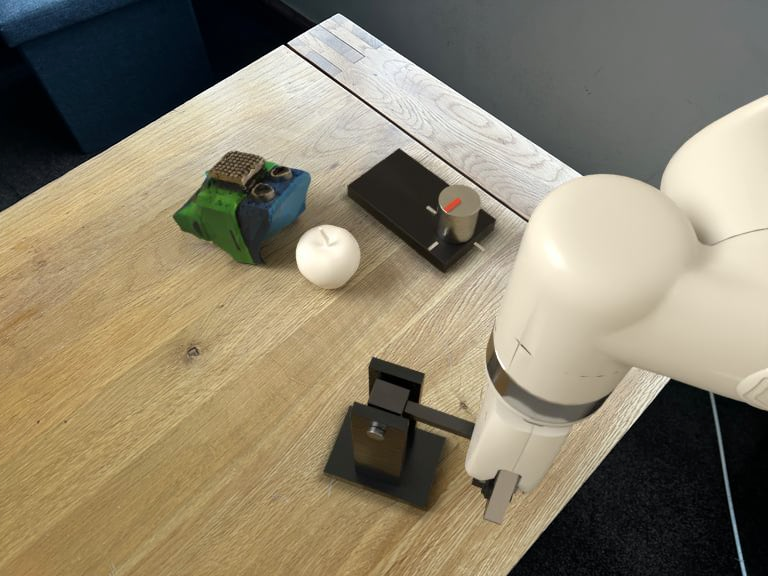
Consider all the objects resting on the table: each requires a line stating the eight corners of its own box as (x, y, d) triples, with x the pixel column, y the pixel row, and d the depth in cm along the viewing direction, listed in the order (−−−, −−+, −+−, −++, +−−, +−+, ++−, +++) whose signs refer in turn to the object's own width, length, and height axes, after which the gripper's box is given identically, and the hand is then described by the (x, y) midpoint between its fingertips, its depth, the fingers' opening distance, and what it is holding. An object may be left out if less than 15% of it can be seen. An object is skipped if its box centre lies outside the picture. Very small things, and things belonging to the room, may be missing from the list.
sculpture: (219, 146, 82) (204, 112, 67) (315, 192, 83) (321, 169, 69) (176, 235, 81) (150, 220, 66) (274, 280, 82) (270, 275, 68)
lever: (521, 426, 53) (529, 416, 51) (508, 480, 51) (515, 471, 48) (379, 377, 54) (381, 365, 52) (360, 426, 52) (361, 415, 50)
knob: (454, 206, 78) (458, 176, 74) (483, 228, 76) (489, 199, 72) (426, 227, 76) (430, 197, 72) (456, 251, 75) (461, 222, 70)
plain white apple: (327, 239, 78) (322, 194, 71) (373, 271, 75) (373, 228, 69) (285, 277, 75) (276, 234, 68) (332, 312, 72) (328, 271, 66)
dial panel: (506, 239, 78) (509, 227, 76) (455, 283, 75) (457, 273, 73) (398, 158, 85) (399, 146, 83) (347, 196, 81) (346, 184, 80)
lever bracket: (445, 441, 65) (463, 373, 51) (424, 511, 61) (437, 456, 48) (350, 409, 66) (343, 335, 53) (323, 475, 63) (310, 412, 50)
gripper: (522, 228, 43) (481, 354, 58) (449, 471, 34) (423, 544, 50) (637, 261, 42) (565, 381, 57) (592, 521, 33) (521, 580, 49)
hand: (499, 456), depth 53 cm, fingers closed on lever, 4 cm apart
